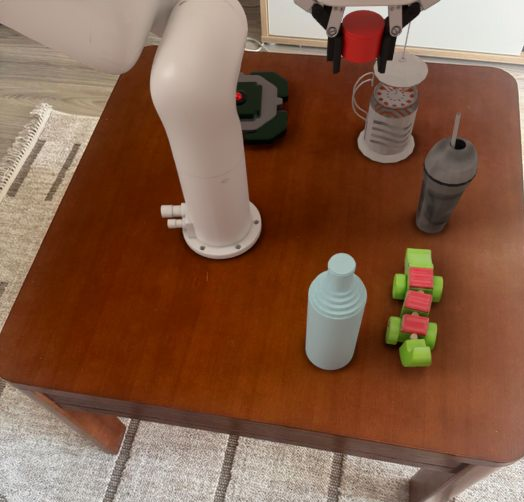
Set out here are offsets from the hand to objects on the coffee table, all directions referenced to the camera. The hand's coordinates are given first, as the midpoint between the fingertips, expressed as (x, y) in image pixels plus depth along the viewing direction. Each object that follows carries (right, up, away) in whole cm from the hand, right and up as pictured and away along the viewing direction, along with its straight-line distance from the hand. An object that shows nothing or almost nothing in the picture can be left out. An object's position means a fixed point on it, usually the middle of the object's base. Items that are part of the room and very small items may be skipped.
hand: (358, 63), depth 56 cm
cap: (0, +1, -1) cm, 1 cm away
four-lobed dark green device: (-15, +12, +40) cm, 44 cm away
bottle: (-1, -30, +17) cm, 35 cm away
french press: (+10, +5, +35) cm, 37 cm away
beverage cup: (+16, -11, +27) cm, 33 cm away
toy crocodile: (+11, -26, +19) cm, 34 cm away
